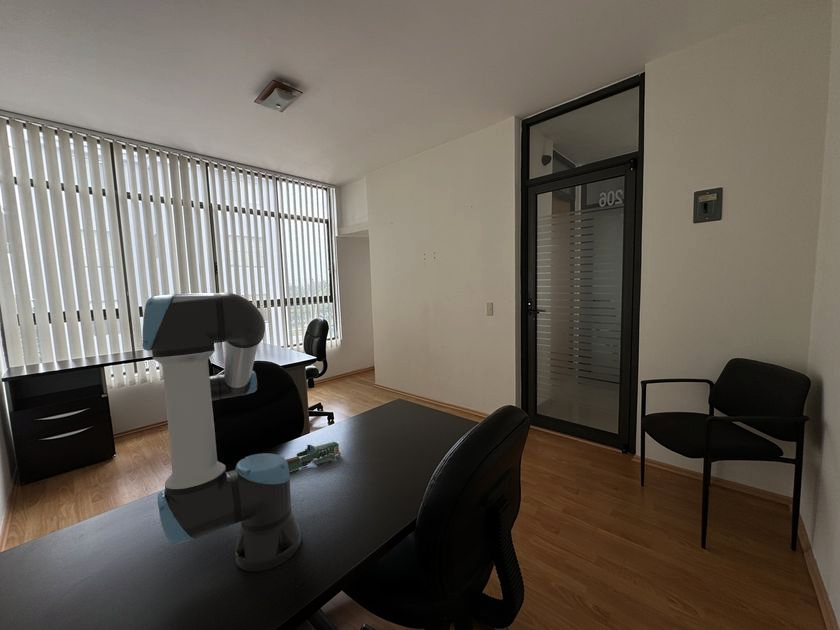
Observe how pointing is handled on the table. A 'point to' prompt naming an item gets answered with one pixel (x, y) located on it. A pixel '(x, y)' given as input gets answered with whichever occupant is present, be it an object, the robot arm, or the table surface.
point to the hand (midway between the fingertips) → (197, 481)
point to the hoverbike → (314, 456)
